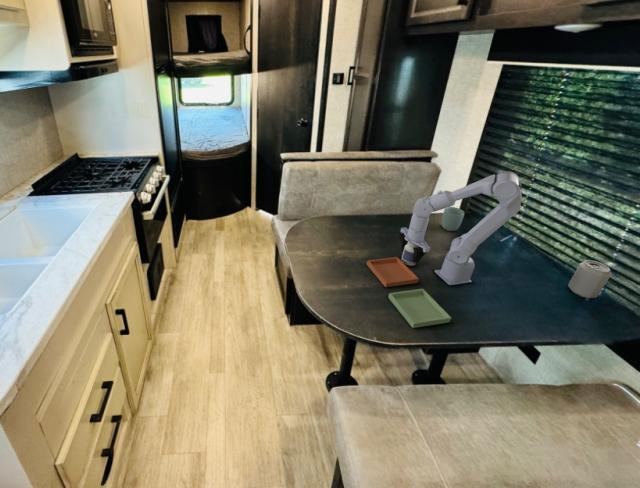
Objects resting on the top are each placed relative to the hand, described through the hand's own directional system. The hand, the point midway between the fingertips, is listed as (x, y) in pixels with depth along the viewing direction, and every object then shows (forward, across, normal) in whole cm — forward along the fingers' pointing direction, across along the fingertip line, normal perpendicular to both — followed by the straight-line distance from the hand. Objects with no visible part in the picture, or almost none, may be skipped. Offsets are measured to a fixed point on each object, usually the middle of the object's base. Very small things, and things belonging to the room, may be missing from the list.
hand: (409, 256), depth 127 cm
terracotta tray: (+3, +5, -11) cm, 12 cm away
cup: (+3, -19, +35) cm, 40 cm away
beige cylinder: (+3, +26, +50) cm, 56 cm away
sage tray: (+3, +23, -13) cm, 27 cm away
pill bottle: (+3, 0, 0) cm, 3 cm away
